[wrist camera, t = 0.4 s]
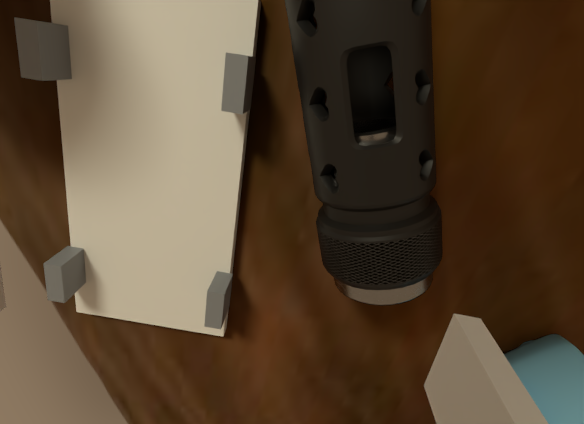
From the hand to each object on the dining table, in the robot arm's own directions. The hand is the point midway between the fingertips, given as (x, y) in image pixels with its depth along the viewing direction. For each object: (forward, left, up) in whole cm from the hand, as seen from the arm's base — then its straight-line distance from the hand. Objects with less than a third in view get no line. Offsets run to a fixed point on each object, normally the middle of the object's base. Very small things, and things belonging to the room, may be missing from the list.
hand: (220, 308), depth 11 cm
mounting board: (+5, -12, -24) cm, 27 cm away
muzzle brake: (-5, +5, -24) cm, 25 cm away
